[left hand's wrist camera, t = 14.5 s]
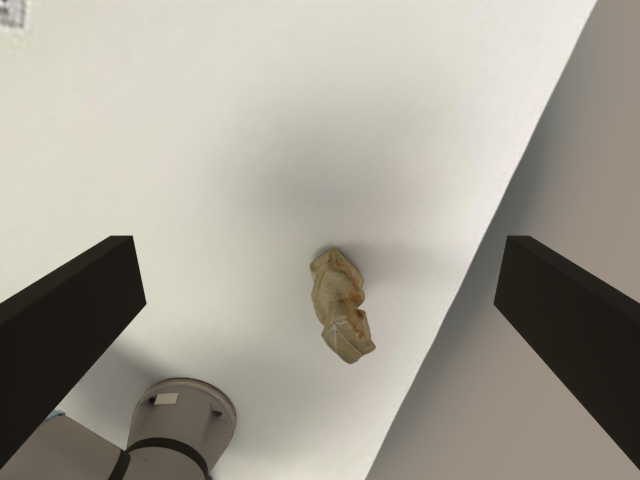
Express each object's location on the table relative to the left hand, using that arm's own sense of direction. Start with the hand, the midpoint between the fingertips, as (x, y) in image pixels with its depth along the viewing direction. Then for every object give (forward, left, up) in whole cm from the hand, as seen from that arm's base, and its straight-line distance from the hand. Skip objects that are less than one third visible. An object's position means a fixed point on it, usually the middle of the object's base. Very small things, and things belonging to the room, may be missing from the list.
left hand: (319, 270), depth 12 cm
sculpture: (-13, -6, -30) cm, 34 cm away
